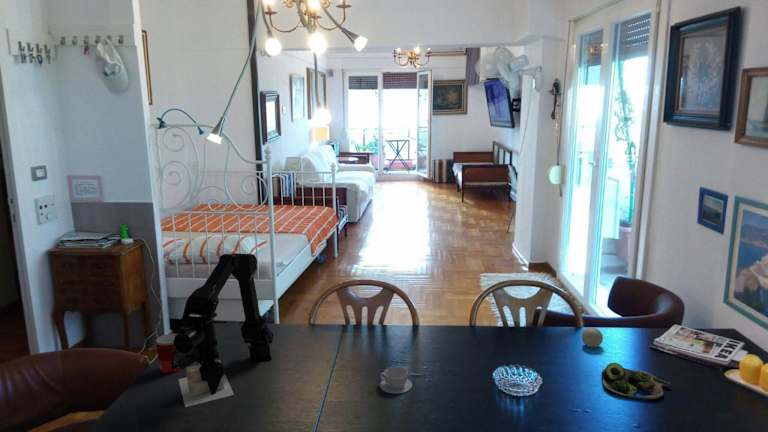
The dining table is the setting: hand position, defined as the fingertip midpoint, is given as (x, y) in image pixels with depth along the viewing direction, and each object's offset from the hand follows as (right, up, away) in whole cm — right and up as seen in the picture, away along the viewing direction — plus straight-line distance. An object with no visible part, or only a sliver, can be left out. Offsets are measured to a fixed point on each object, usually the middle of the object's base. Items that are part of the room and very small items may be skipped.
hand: (210, 386), depth 158 cm
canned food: (-21, -2, +25) cm, 33 cm away
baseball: (+123, +4, +34) cm, 127 cm away
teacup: (+54, -4, +11) cm, 55 cm away
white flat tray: (-6, -4, +13) cm, 15 cm away
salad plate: (+124, -3, +8) cm, 125 cm away
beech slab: (-5, -4, +11) cm, 12 cm away
